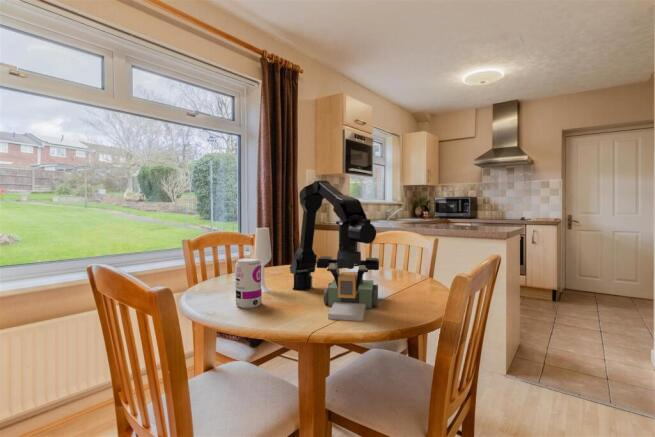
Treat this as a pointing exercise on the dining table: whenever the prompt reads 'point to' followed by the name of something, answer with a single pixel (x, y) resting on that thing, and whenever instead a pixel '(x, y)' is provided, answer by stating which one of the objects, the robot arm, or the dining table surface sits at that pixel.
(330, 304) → the green wheeled block
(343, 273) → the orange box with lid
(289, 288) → the dining table surface
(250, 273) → the supplement can
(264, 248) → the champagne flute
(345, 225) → the robot arm
